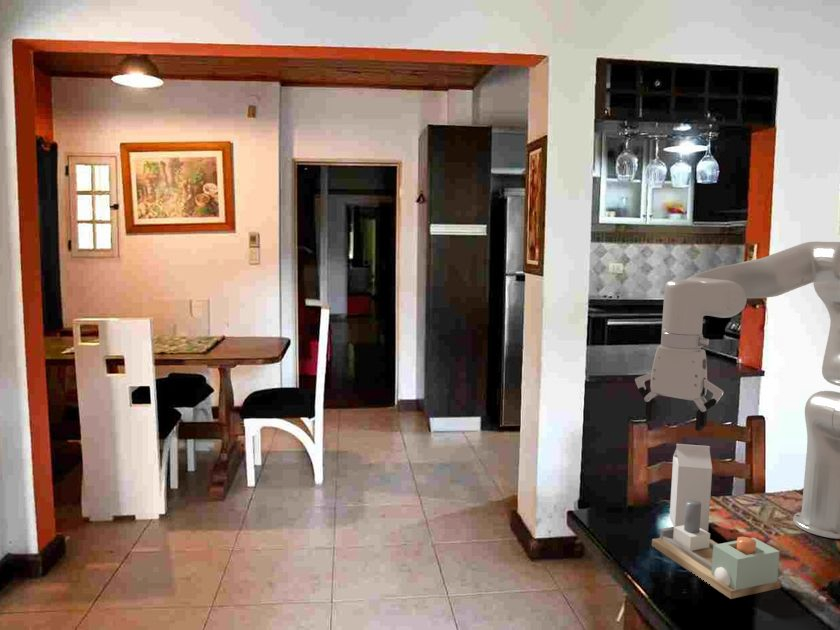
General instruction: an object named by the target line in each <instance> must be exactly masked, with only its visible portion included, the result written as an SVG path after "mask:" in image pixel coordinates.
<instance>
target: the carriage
mask: <svg viewBox="0 0 840 630" xmlns="http://www.w3.org/2000/svg"><path fill="white" fill-rule="evenodd" d="M700 517H701V503H700V502H698V501H695V500H687V501H686V507H685V524H684V525H682V526H677V527H674V526H673V527H674V534H673V540H675V541H676V542H678V543H679V544H681V545H682V546H684V547H686V548H687V549H689V550H690V551H692V550H698V549H703V548H709V544H710V539H711V533H710V532H709V531H708V532H706V531H705V530H703V529H701V528H700Z"/></svg>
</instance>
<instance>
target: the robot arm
mask: <svg viewBox="0 0 840 630" xmlns="http://www.w3.org/2000/svg"><path fill="white" fill-rule="evenodd" d="M812 283H813V288H814V291H815V293H816V295H817V296H818V298H820V300H821V302H822V303H823V304H824V306H825V307H826V309H827V312H828V314H829V318H830V319H829V321H830V324H829V332H828V336H827V341H826V345H825V350H824V351H825V352H824V356H823V360H822V361H823V362H822V366H821V374H822V377H823V379H824V380H825V381H826V382H828V383H830V384H832V385H835V386H838V387H840V241H807V242H803V243H799V244H797V245H794V246H792V247H789V248H786V249H784V250H783V249H782V250H781V251H777V252H775V253H772V254H769V255H767V256H765V257H761V258H757V259H756V258H755V259H750V260H746V261H743V262H738V263H737V262H736V263H733V264H729V265H723V266H719V267H714V268H711V269H707V270H706V271H701V272H699V273H697V274H694V275H691V276H689V277H688V278H686V279H670V280H668V281H667V282H666V283H665V286H664V292H663V294H664V295H663V305H662V306H663V307H662V308H663V309H662V323H661V338H660V344H659V345H658V346H657V347H656V351H655V354H654V358H653V362H652V366H651V367H652V368H651V372H649V373H647V374H644V375H641V376H637V377H635V378H634V381H635V385H636V387H637V388H638V392H639V393H640V395H641V396H642V397H643V399H644V402H646V403H645V416H646V421H647V422H652V421H654V420H656V417H657V407H658V406H657V405H658V402H657V399H656V398H657V397H658V396H661V397H662V396H663V397H669V398H675V399H681V400H687V401H693V402H694V403H695V405H696V407H697V408H698V410H696V415H695V430H696V431H697V432H700V431H701V430H704V427H706V426H707V421H708V410H709V409H711V408H713V406H715V405H717V404H718V403H719V401H720V400H721V398H722V397H723V395H724V393H725V392H724V390H723V389H721V388H720V387H718V386H717V385H715V384H714V383H712V382H710V381H709V380H708V366H707V365H708V364H707V363H708V361H707V354H706V350H705V349H701V348H702V347H704V346H709V343H710V339H709V338H705V337H704V334H703V326H704V325H703V324H704V323H703V322H704V317H706V316H709V317H716V318H725V319H726V318H732V317H735V316H736V315H738V314H740V313H741V312H742V311H743V310H744V309H745V307H746V304H747V299H765V298H766V299H767V298H774V297H779V296H781V295H784V294H786V293H788V292H791V291H794V290H796V289H799V288H801V287H805V286H807V285H809V284H812ZM647 381H650V385H649V387H650V390H649V389H648V387H647V386H646V384H645V382H647ZM707 390H708V391H709V392H710V393H712V397H711V398H710V399H709V400H708V401H707V399H706V398H705V397H706V395H707ZM804 419H805V425H806V426H805V427H806V434H807V438H806V440H807V441H806V442H807V443H806V456H805V466H804V479H803V488H802V492H803V493H802V500H801V501H802V504H801V511H800V512H795V514H794V515H793V516H792V520H793V523H794V525H795V526H797V527H798V528H800V529H801V530H803V531H805V532H807V533H809V534H811V535H812V534H813V535H815V536H819V537H823V538H829V539H836V540H837V539H838V540H840V392H839V391H833V390H821V391H817V392H814V393H813V394H812V395H810V397H809V398H808V399H807V400H806V402H805V406H804Z"/></svg>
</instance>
